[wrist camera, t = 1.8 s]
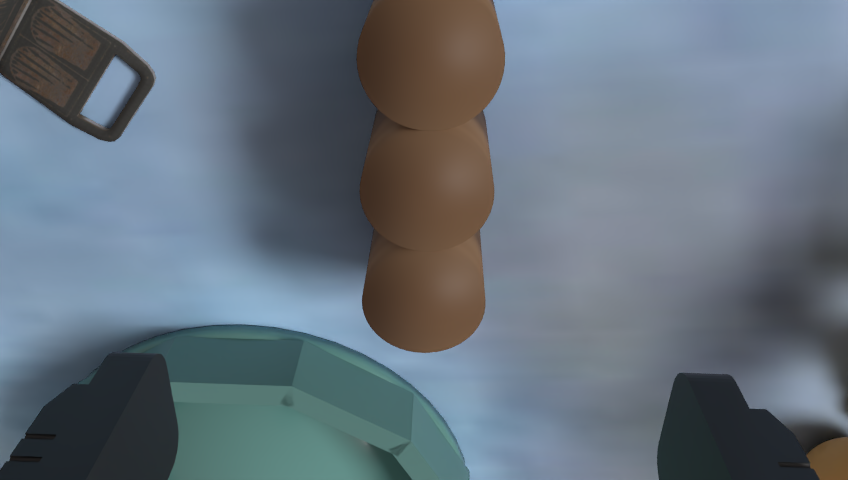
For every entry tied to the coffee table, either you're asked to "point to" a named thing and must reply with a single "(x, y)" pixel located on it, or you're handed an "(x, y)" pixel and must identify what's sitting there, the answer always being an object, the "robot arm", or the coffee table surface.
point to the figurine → (830, 459)
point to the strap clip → (65, 61)
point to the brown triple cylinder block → (428, 166)
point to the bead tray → (276, 431)
